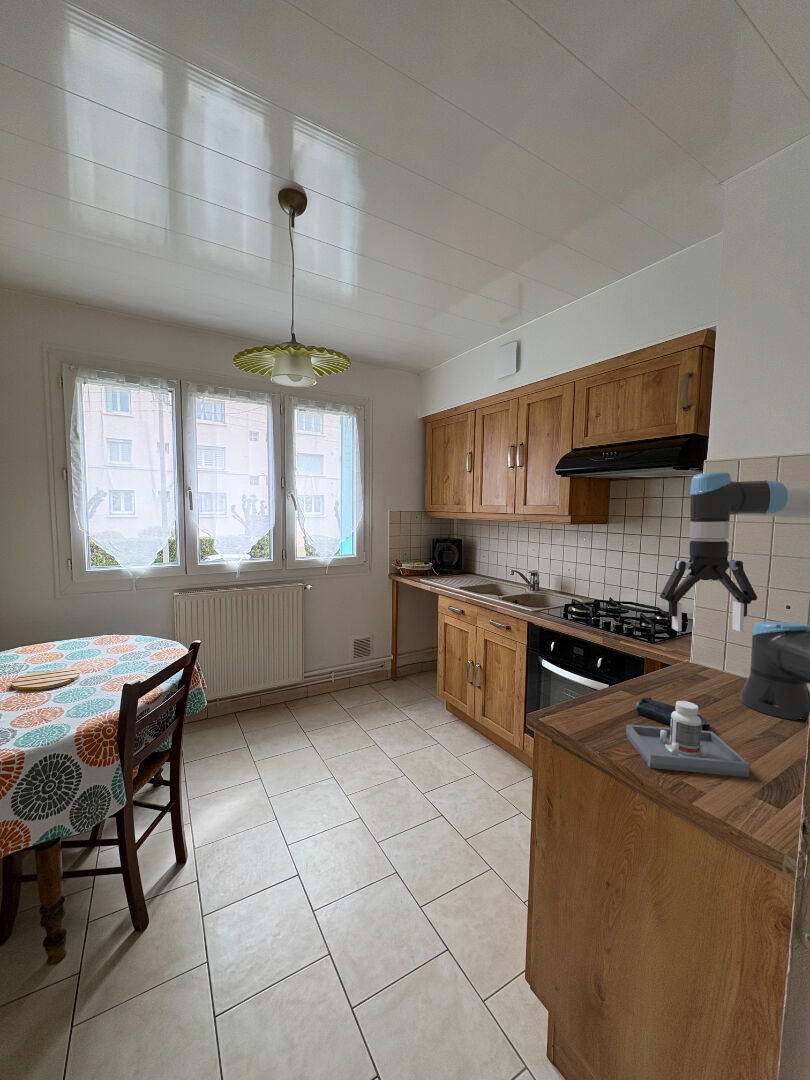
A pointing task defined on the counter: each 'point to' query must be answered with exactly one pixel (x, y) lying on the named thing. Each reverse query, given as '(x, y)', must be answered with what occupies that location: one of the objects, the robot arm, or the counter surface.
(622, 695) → the counter surface
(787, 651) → the robot arm
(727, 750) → the tray
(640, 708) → the electronic device
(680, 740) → the pill bottle
